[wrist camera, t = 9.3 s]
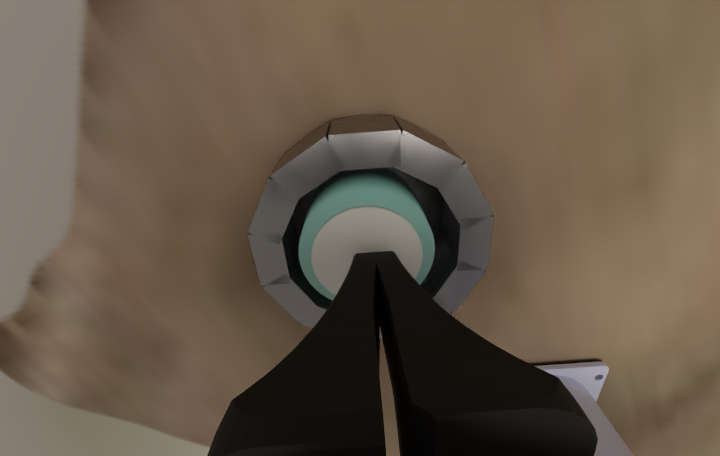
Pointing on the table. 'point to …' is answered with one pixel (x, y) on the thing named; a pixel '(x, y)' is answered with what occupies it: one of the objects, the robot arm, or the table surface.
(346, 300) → the robot arm
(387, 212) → the cap
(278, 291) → the faceted ring bowl
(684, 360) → the table surface
